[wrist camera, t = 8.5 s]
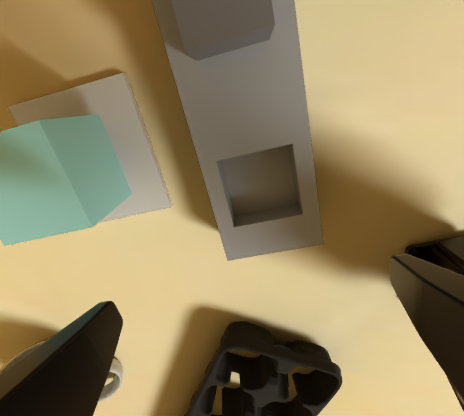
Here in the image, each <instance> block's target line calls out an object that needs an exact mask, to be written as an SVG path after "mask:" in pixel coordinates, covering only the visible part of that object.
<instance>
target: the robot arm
mask: <svg viewBox="0 0 464 416" xmlns="http://www.w3.org/2000/svg"><path fill="white" fill-rule="evenodd" d="M413 250H415V251H414V252H412V251H413ZM411 252H412V253H411ZM390 281H391V284H392V286H393V288H394V290H395V292H396V294H397V296H398V298H399V299H400V301H401V303H402V305H403V307H404V308H405V310H406V312H407V314H408V316H409V318H410V319H411V321H412V323H413V325H414V327H415V329H416V330H417V332H418V334H419V335H420V337H421V338H422V340H423V342H424V343H425V345H426V346H427V347H428V349H429V350H430V352H431V353H432V355H433V356H434V358H435V359H436V361H437V362H438V363H439V365H440V366H441V368H442V369H443V371H444V372H445V374H446V376H447V378H448V380H449V382H450V384H451V386H452V388H453V390H454V392H455V394H456V397H457V399H458V401H459V403H460V405H461V407H462V409H463V411H464V236H462V237H456V238H450V239H444V240H438V241H434V242H428V243H421V244H415V245H411V246H408V247H407V248H406V250H405V254H400V255H393V256H392V257H391V258H390ZM122 326H123V319H122V317H121V315H120V313H119V311H118V309H117V307H116V305H115V304H114V302H112V301H106V302H100V303H98V304H97V305H96V306H94V307H93V308H91V309H90V310H89V311H87V312H86V313H84V314H83V315H82V316H80V317H79V318H77V319H76V320H75V321H73V322H72V323H71V324H69V325H68V326H66V327H65V328H64V329H62V330H61V331H59V332H58V333H57V334H55V335H54V336H52V337H51V338H50V339H48V340H47V341H46V342H44V343H43V344H41V345H40V346H39V347H37V348H36V349H34V350H33V351H32V352H30V353H29V354H27V355H26V356H25V357H23V358H22V359H21V360H19V361H18V362H16V363H15V364H14V365H12V366H11V367H9V368H8V369H7V370H5V371H4V372H2V373H1V374H0V416H93V414H94V411H95V408H96V406H97V403H98V400H99V398H100V395H101V393H102V390H103V387H104V385H105V382H106V379H107V377H108V374H109V371H110V368H111V364H112V361H113V358H114V354H115V351H116V347H117V344H118V340H119V336H120V333H121V329H122Z"/></svg>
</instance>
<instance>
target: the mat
mask: <svg viewBox="0 0 464 416" xmlns="http://www.w3.org/2000/svg"><path fill="white" fill-rule="evenodd" d="M8 109H9V110H10V112H11V114H12V116H13V118H14V120H15V122H16V124H17V125H18V126H21V125H24V124H28V123H31V122H35V121H38V120H47V119H57V118H66V117H76V116H86V115H95V114H99V115H100V118H101V120H102V122H103V125H104V127H105V130H106V132H107V134H108V137H109V139H110V142H111V144H112V146H113V149H114V151H115V154H116V156H117V158H118V161H119V163H120V166H121V168H122V170H123V173H124V175H125V178H126V180H127V182H128V185H129V187H130V190H131V192H132V195H131V196H129V197H128V198H127V199H126V200H125V201H123V202H122V203H121V204H120V205H119V206H117V207H116V208H115V209H114V210H113V211H111V212H110V213H109V214H108V215H107V216H105V217H104V218H103V219H102V220H101V221H100V222H104V221H109V220H114V219H119V218H123V217H128V216H133V215H138V214H142V213H147V212H152V211H157V210H162V209H166V208H171V206H172V202H171V199H170V197H169V194H168V191H167V188H166V185H165V182H164V180H163V177H162V174H161V171H160V168H159V166H158V163H157V160H156V157H155V154H154V151H153V149H152V146H151V143H150V140H149V137H148V135H147V132H146V129H145V126H144V123H143V120H142V118H141V115H140V112H139V109H138V106H137V104H136V101H135V98H134V95H133V92H132V89H131V87H130V84H129V81H128V78H127V75H126V74H125V73H120V74H116V75H113V76H110V77H106V78H103V79H99V80H96V81H93V82H89V83H86V84H83V85H79V86H76V87H72V88H69V89H66V90H62V91H59V92H56V93H52V94H49V95H45V96H42V97H39V98H35V99H32V100H28V101H25V102H22V103H18V104H15V105H12V106H8ZM98 223H99V222H98Z"/></svg>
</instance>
